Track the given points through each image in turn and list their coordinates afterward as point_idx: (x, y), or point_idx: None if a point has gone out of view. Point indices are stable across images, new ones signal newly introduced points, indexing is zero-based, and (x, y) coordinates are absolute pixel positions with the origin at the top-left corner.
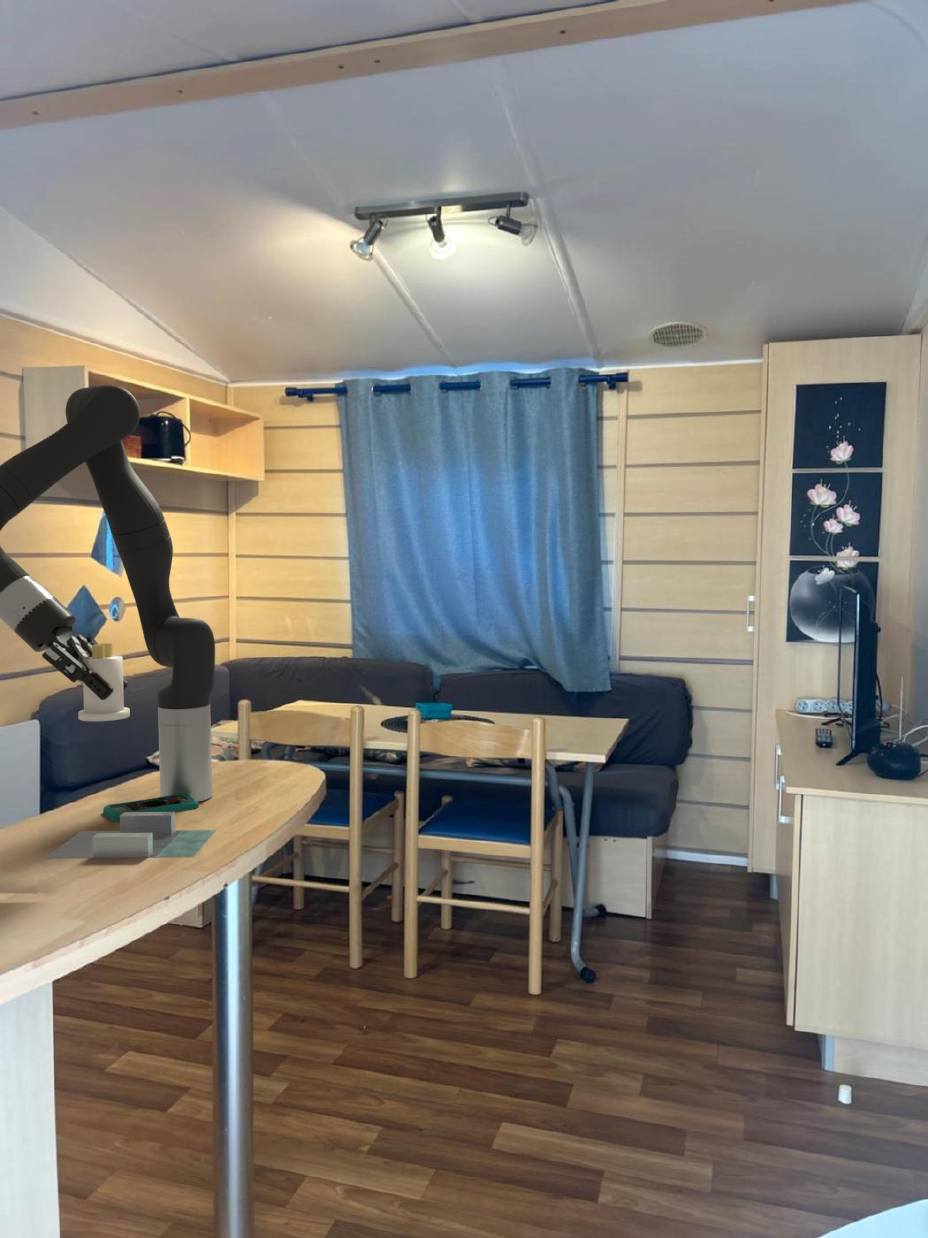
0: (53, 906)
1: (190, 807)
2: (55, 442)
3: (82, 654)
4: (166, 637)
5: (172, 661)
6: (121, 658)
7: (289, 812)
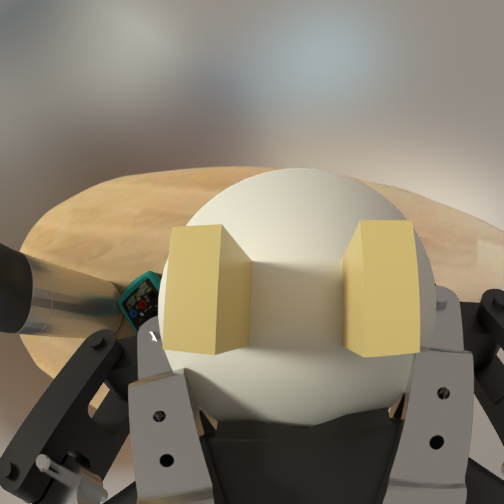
0: (461, 287)
1: (156, 278)
2: None
3: (472, 371)
4: None
5: None
6: (280, 172)
7: (159, 177)
